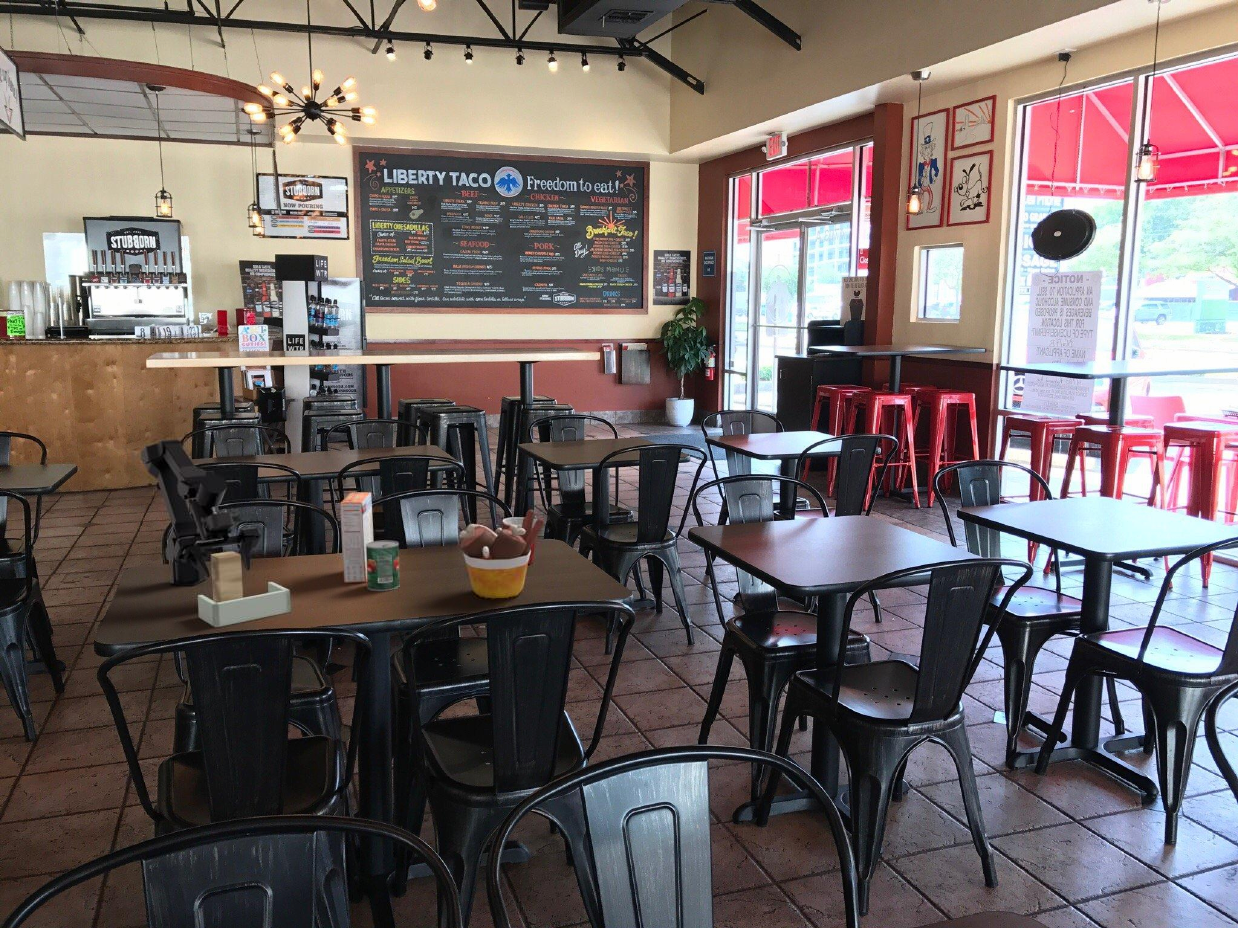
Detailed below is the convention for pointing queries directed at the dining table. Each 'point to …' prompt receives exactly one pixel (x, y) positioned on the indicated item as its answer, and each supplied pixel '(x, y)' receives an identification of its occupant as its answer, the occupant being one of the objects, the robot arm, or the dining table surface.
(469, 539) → the bucket of meat
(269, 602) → the open-side box
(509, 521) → the plastic cup
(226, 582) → the maple block
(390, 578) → the canned tomato
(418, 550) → the dining table surface
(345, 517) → the cracker box
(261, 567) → the dining table surface
